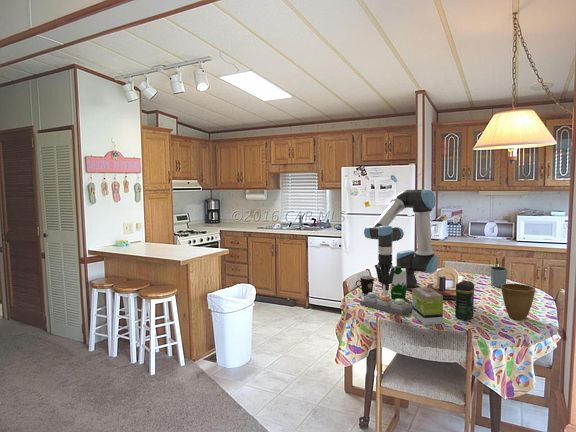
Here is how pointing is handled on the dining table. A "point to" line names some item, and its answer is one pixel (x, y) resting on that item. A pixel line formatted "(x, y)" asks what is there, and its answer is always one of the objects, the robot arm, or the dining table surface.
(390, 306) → the button board
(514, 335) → the dining table surface
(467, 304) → the coffee jar
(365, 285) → the coffee mug
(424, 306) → the tea box
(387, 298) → the terracotta button
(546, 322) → the dining table surface
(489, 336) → the dining table surface
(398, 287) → the milk carton
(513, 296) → the plant pot
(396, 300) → the sage button
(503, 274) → the blue-grey cylindrical pot
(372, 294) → the slate button
